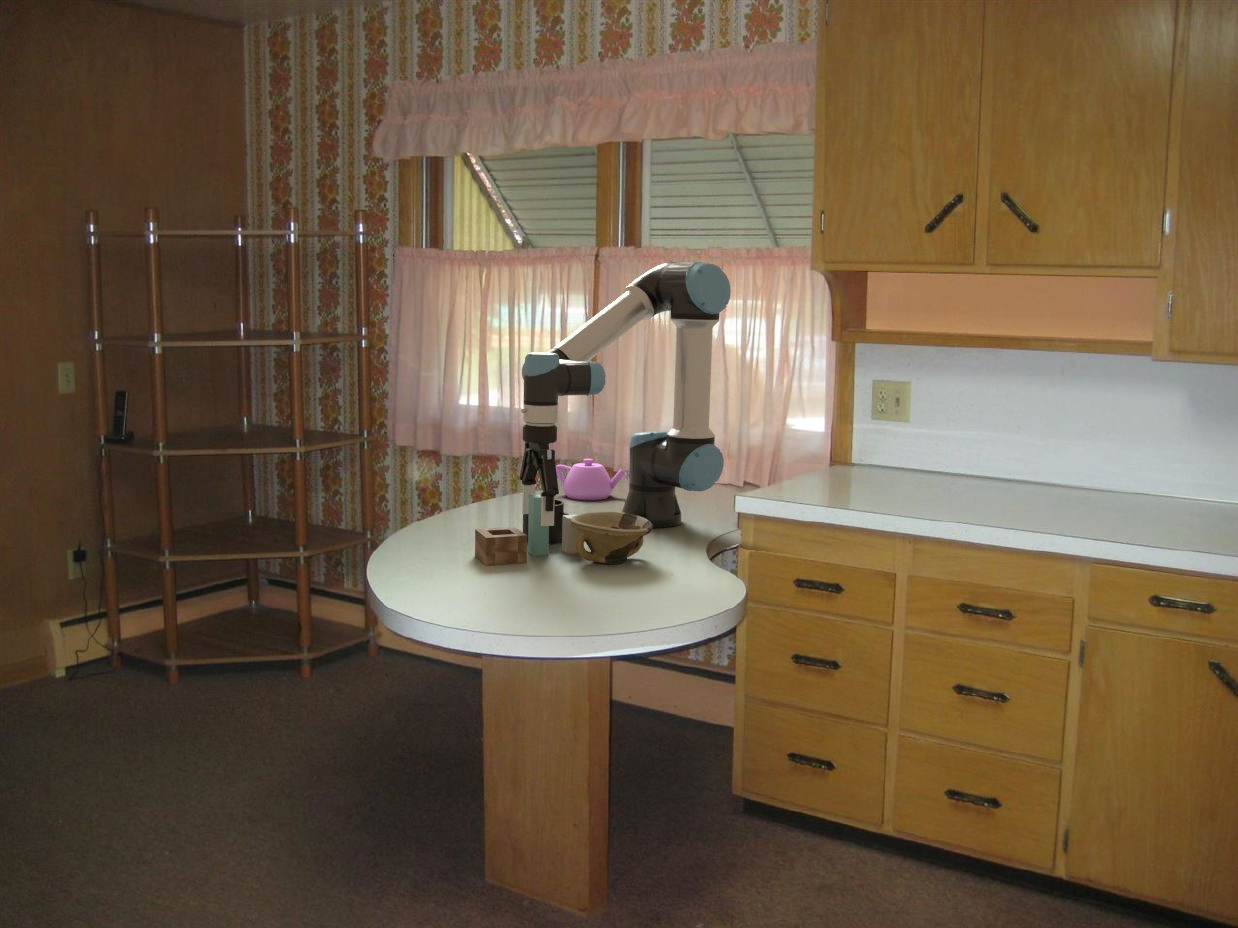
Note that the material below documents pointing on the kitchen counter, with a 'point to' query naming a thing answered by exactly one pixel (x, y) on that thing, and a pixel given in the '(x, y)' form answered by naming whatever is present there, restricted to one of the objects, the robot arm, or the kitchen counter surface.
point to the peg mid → (569, 535)
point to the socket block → (500, 546)
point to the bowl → (609, 535)
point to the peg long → (537, 528)
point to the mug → (555, 530)
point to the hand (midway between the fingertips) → (537, 519)
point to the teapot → (588, 480)
